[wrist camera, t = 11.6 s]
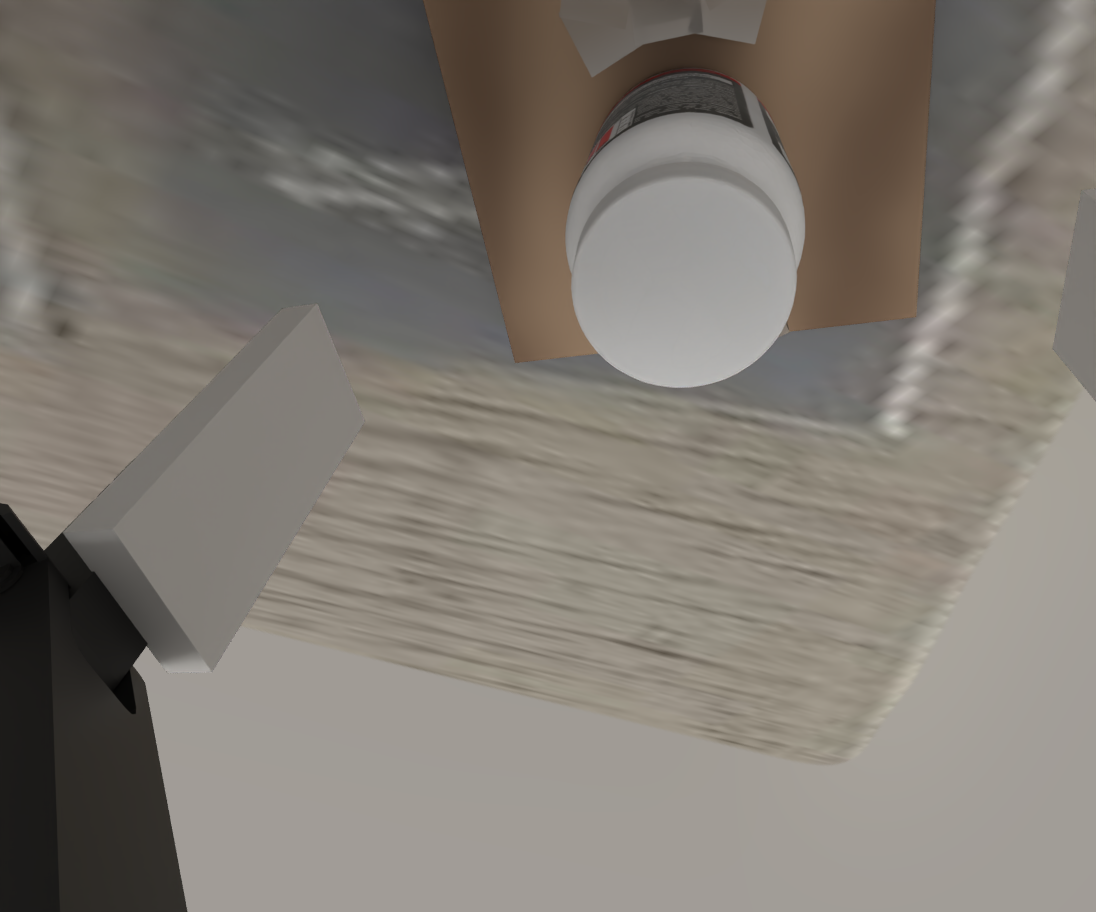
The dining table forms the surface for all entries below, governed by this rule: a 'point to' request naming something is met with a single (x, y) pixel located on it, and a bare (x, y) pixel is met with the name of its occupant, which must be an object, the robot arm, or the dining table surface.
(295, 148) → the dining table surface
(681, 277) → the pill bottle
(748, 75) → the board
